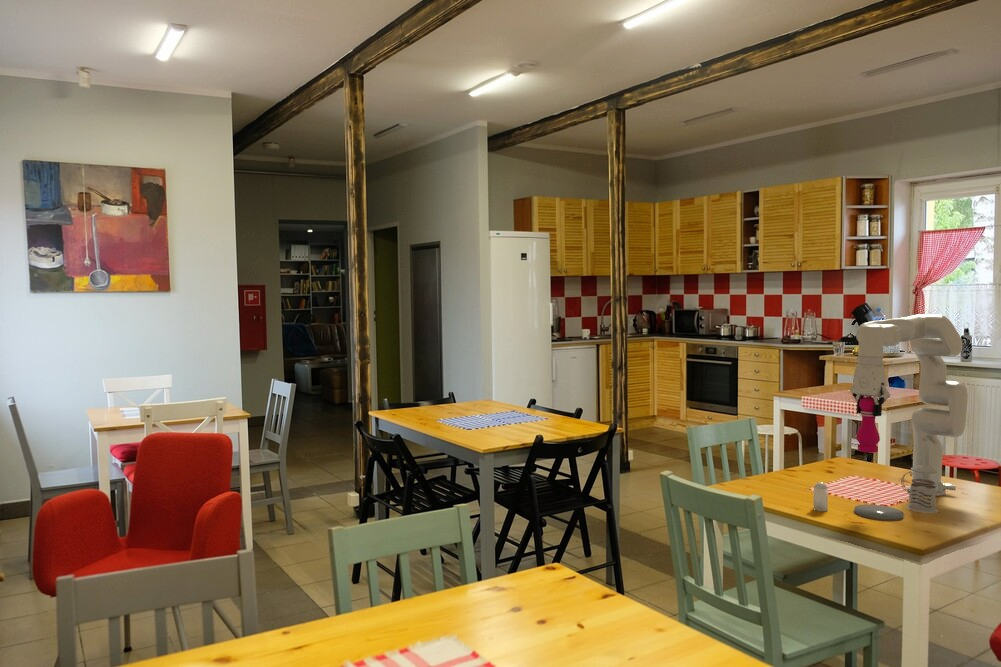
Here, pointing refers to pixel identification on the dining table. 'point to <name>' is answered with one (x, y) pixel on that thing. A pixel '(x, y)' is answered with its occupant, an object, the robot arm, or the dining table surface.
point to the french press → (922, 489)
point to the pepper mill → (867, 427)
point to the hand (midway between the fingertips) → (868, 414)
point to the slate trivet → (879, 512)
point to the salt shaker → (820, 496)
